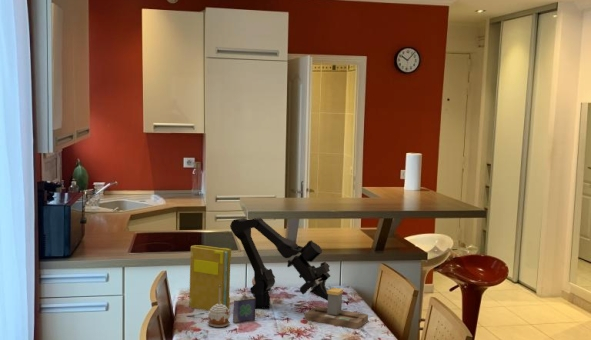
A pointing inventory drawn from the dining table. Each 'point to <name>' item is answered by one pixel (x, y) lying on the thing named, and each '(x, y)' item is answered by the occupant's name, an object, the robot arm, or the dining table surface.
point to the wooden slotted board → (337, 318)
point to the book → (209, 277)
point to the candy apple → (219, 314)
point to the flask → (244, 309)
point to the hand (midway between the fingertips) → (328, 299)
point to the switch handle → (334, 301)
